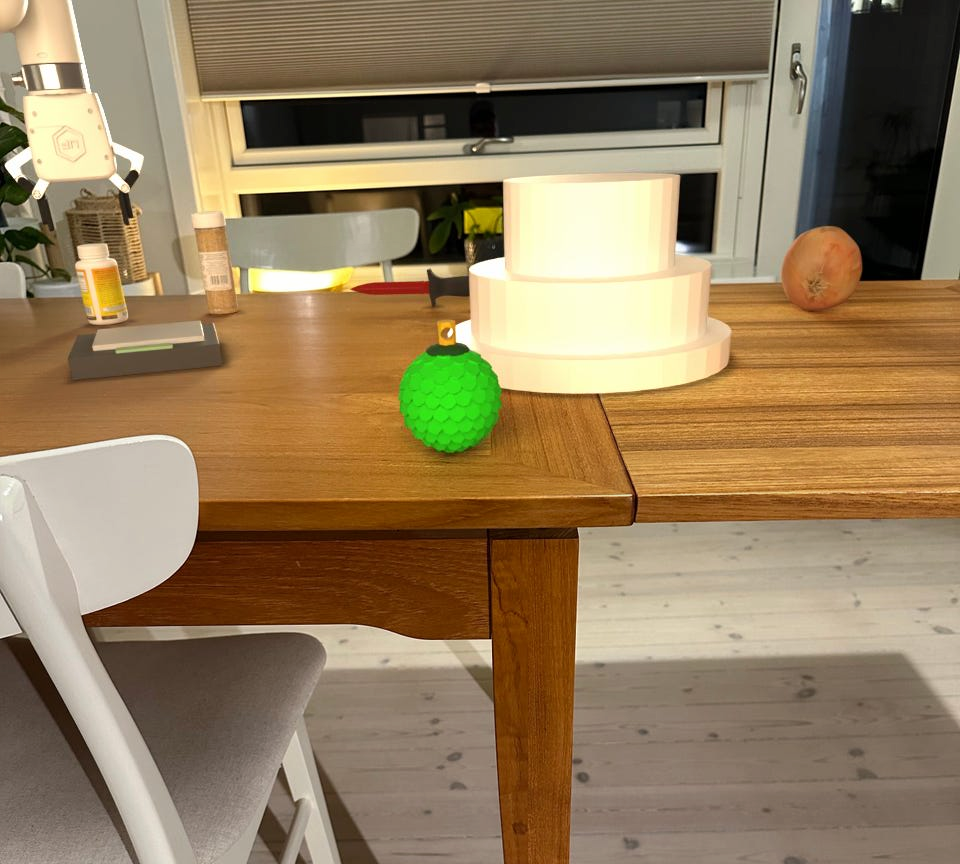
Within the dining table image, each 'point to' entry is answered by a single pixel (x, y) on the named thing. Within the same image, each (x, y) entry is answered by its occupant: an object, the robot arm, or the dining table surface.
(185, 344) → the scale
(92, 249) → the supplement bottle
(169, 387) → the dining table surface
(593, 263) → the cake
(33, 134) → the robot arm
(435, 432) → the ornament
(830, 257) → the onion
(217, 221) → the sprinkles bottle
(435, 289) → the knife
